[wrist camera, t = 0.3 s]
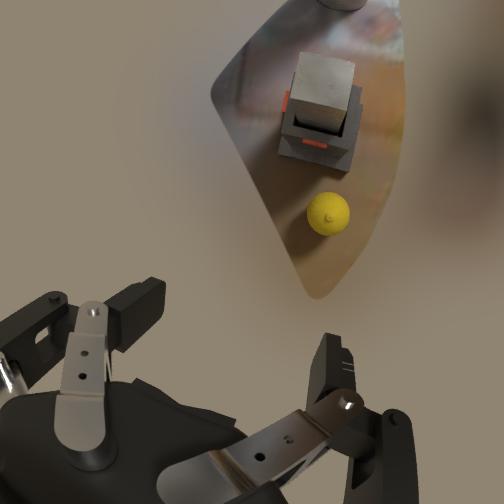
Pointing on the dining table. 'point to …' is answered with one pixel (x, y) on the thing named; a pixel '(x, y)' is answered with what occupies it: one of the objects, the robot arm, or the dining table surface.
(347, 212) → the lemon
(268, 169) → the dining table surface
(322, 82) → the column
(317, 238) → the dining table surface
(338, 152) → the stand base
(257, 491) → the robot arm
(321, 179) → the dining table surface
